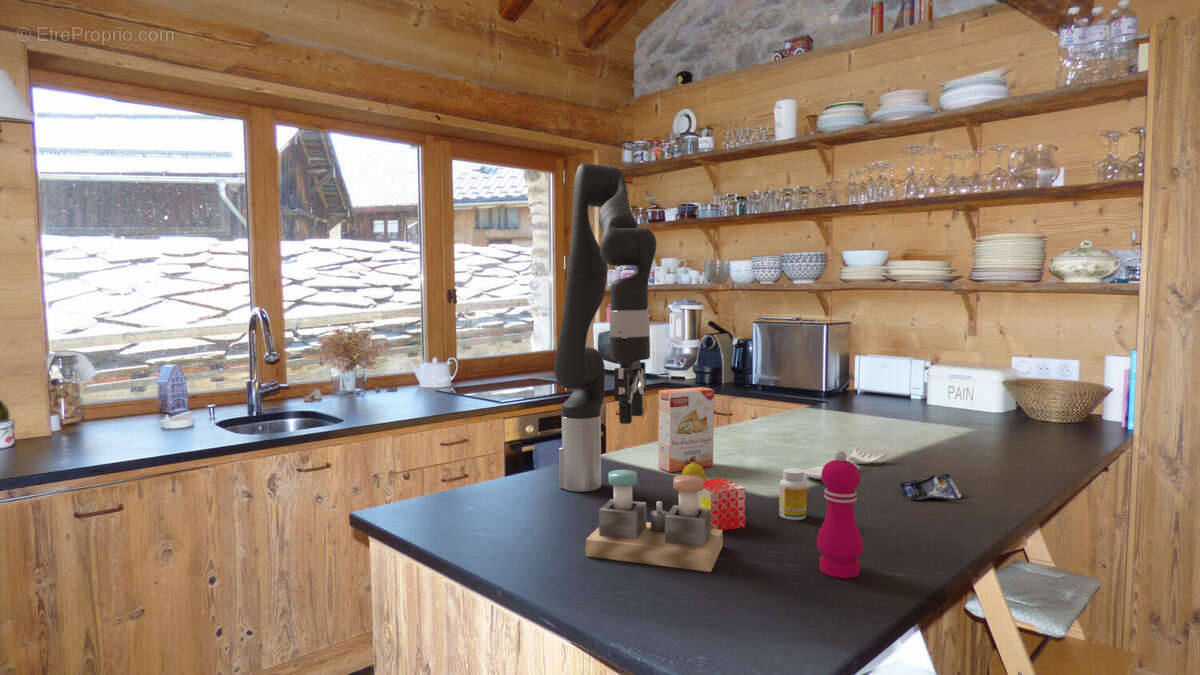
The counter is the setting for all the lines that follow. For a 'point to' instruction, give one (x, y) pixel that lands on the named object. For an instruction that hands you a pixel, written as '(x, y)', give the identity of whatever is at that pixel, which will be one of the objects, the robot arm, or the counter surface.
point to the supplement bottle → (792, 495)
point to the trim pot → (658, 519)
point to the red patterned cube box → (723, 503)
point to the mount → (656, 538)
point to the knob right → (688, 494)
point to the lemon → (694, 470)
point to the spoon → (854, 457)
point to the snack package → (931, 488)
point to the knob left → (622, 488)
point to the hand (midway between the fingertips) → (631, 419)
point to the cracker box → (686, 428)
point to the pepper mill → (840, 520)
